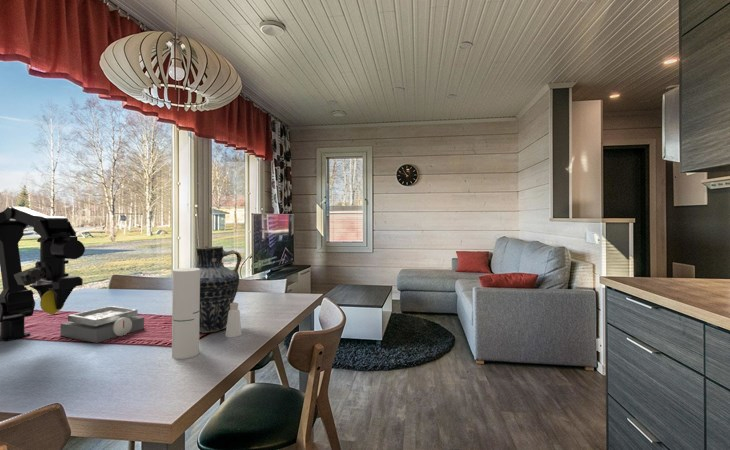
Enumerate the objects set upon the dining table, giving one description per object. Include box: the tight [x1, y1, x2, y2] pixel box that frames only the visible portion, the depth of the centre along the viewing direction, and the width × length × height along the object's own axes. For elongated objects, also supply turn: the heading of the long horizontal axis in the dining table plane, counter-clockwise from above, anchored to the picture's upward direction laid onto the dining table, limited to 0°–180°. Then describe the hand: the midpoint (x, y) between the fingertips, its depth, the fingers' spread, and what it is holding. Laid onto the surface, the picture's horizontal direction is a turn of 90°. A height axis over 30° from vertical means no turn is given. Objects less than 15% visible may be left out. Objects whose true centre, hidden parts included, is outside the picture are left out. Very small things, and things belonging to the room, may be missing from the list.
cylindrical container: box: [171, 267, 200, 360], centre depth 102 cm, size 7×7×25 cm
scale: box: [60, 315, 145, 344], centre depth 120 cm, size 19×16×6 cm
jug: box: [194, 245, 243, 333], centre depth 126 cm, size 21×19×30 cm
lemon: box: [39, 291, 65, 316], centre depth 106 cm, size 6×6×8 cm
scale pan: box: [67, 305, 139, 326], centre depth 121 cm, size 14×14×2 cm
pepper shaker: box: [225, 302, 242, 338], centre depth 120 cm, size 5×5×11 cm
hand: (52, 308), depth 106 cm, fingers closed on lemon, 5 cm apart
